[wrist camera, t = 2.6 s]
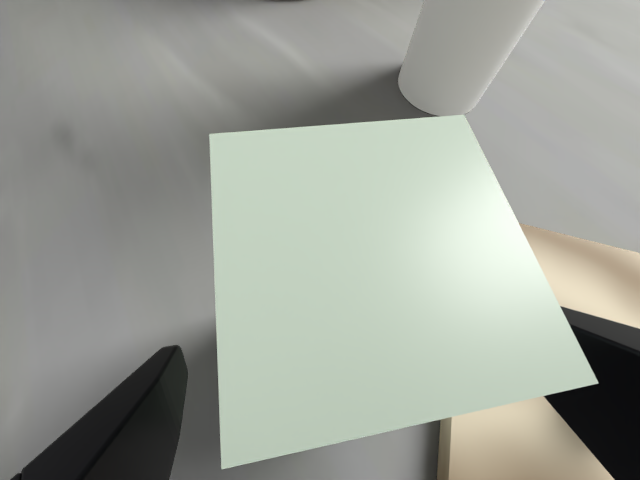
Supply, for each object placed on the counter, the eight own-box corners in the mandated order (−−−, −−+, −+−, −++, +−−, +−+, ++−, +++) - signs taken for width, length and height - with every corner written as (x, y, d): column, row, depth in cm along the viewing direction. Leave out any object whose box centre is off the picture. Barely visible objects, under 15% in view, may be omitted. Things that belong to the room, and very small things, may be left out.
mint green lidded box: (375, 380, 16) (598, 383, 4) (278, 400, 15) (221, 469, 4) (354, 286, 18) (463, 114, 6) (267, 300, 17) (209, 134, 6)
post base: (809, 678, 13) (1074, 831, 8) (431, 567, 13) (497, 658, 9) (688, 276, 20) (793, 249, 16) (453, 217, 21) (494, 175, 16)
